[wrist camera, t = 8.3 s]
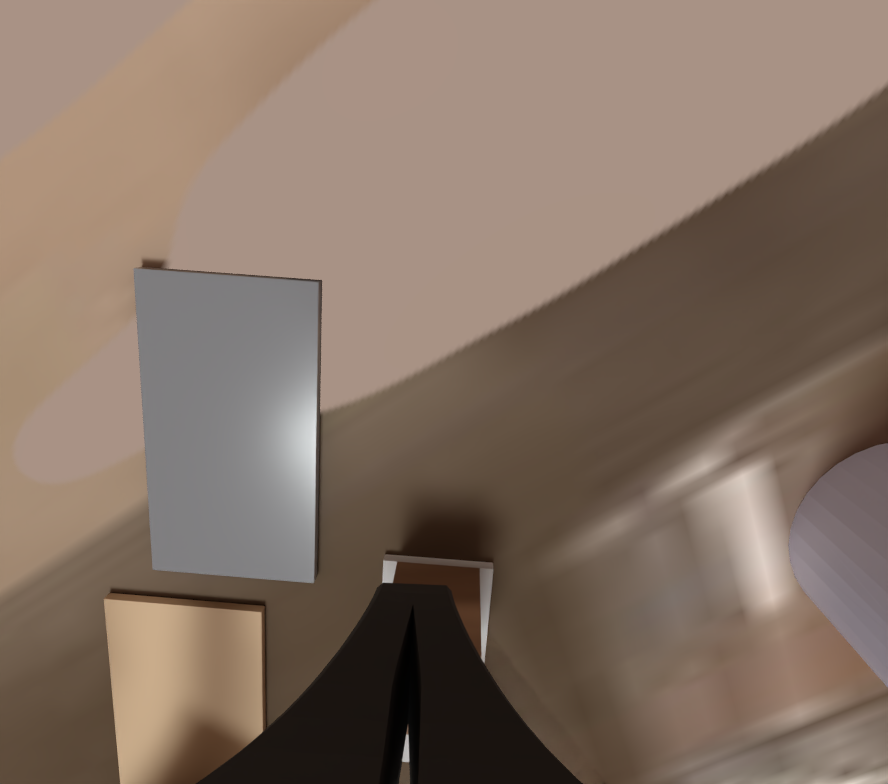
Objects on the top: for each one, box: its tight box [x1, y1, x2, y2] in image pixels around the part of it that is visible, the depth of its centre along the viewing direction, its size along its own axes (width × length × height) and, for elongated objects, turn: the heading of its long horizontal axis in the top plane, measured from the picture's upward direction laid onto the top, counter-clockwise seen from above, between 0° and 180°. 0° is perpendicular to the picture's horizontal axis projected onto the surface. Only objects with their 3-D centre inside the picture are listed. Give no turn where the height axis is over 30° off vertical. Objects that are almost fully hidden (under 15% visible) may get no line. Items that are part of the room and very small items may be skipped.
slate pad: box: [134, 267, 322, 583], centre depth 22 cm, size 6×11×1 cm, turn 176°
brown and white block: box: [383, 554, 493, 762], centre depth 23 cm, size 9×4×5 cm, turn 176°
